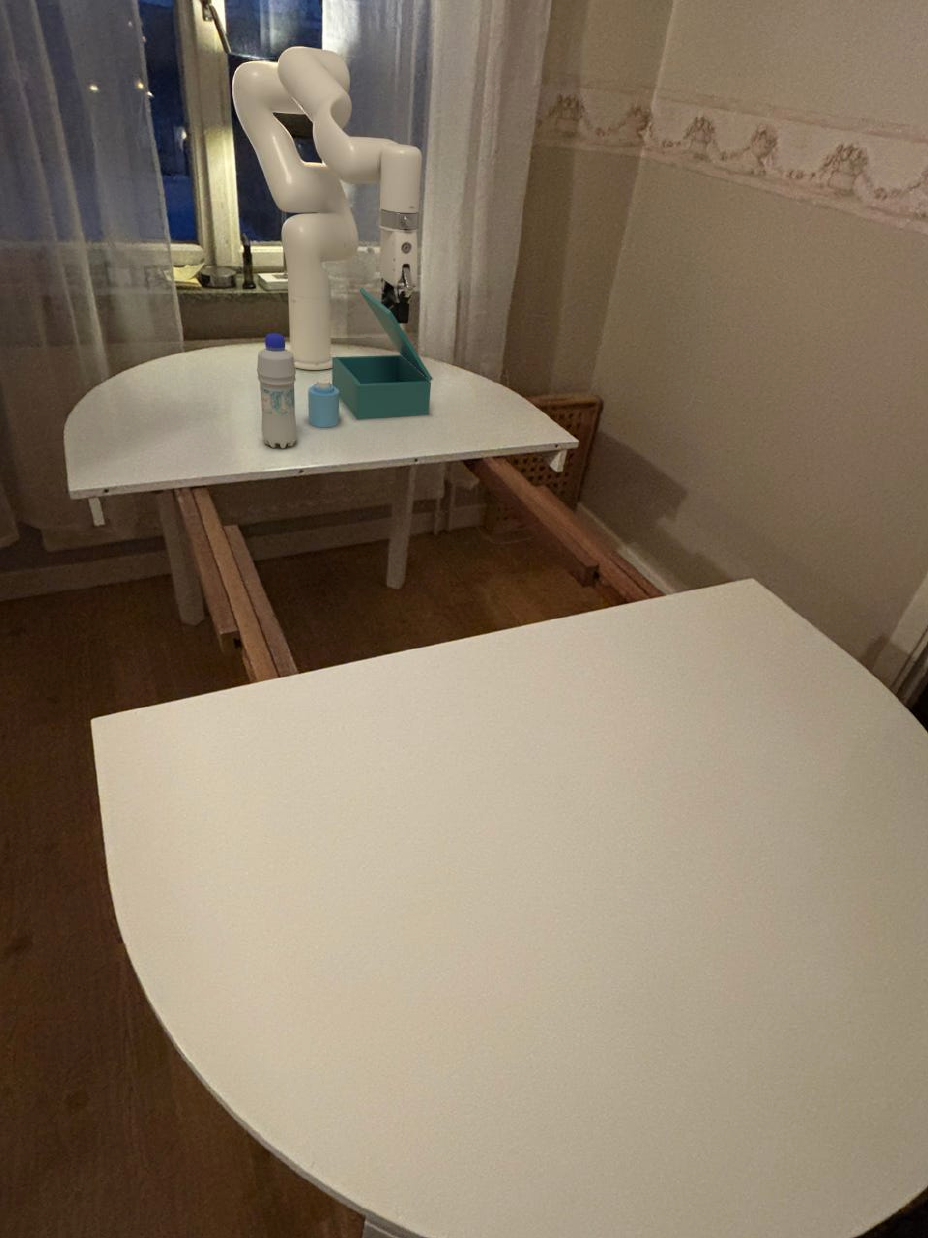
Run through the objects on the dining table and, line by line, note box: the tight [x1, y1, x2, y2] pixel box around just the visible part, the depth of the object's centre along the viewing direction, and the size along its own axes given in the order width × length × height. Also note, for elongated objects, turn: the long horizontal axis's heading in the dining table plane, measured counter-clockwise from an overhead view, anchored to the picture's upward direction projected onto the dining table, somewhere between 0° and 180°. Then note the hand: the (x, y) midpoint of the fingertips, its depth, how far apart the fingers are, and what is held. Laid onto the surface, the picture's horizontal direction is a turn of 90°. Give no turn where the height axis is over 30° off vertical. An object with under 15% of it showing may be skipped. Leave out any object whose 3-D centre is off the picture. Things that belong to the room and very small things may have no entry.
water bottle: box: [307, 378, 340, 428], centre depth 147 cm, size 6×6×8 cm
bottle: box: [256, 332, 297, 449], centre depth 133 cm, size 7×7×20 cm
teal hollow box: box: [331, 354, 432, 420], centre depth 159 cm, size 16×18×7 cm
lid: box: [358, 287, 434, 382], centre depth 154 cm, size 17×18×5 cm
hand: (394, 317), depth 152 cm, fingers closed on lid, 6 cm apart
